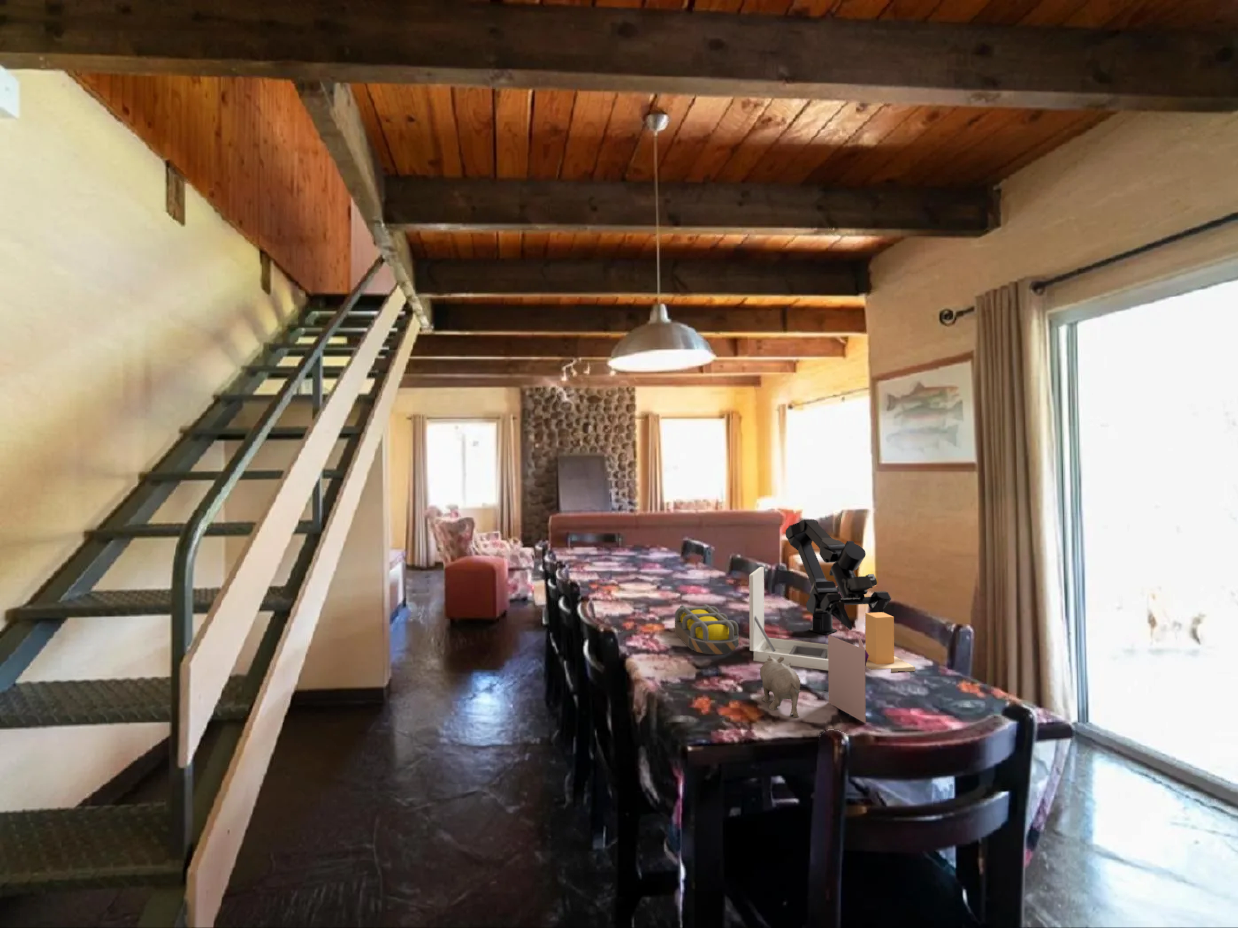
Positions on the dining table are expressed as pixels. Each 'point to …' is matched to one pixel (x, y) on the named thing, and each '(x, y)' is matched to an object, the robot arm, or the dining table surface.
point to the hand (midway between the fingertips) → (867, 628)
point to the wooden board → (891, 665)
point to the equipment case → (776, 648)
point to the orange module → (879, 637)
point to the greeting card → (847, 677)
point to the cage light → (706, 629)
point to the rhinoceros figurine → (780, 683)
